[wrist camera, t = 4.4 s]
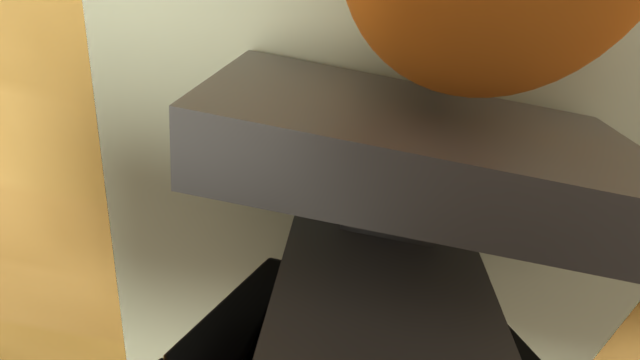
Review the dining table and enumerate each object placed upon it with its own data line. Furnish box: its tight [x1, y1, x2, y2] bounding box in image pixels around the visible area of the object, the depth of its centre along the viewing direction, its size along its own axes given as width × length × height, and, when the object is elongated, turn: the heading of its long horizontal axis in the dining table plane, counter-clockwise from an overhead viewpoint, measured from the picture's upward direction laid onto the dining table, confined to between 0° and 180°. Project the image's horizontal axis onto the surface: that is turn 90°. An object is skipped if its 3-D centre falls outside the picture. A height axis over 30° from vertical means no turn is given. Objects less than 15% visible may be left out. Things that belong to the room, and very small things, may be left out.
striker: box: [169, 50, 640, 360], centre depth 7 cm, size 7×7×6 cm
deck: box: [82, 0, 640, 360], centre depth 12 cm, size 21×14×2 cm, turn 171°
